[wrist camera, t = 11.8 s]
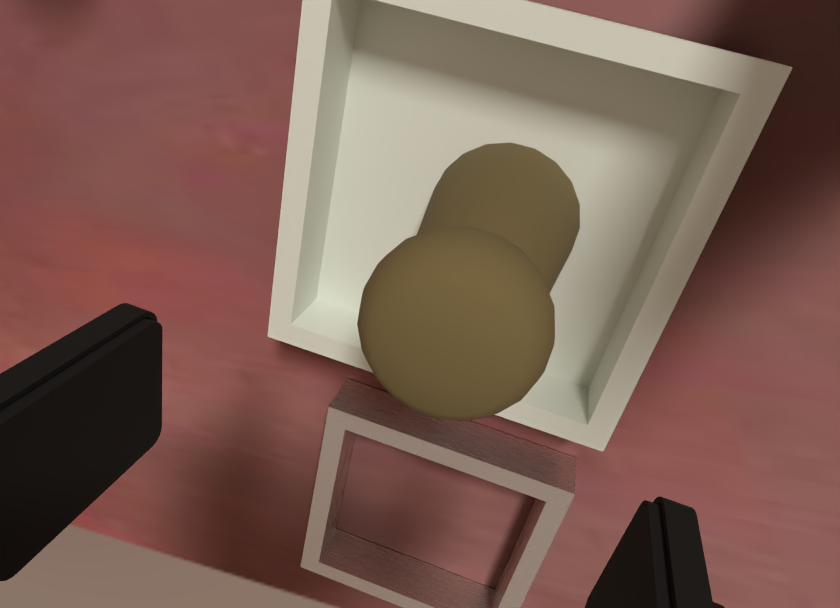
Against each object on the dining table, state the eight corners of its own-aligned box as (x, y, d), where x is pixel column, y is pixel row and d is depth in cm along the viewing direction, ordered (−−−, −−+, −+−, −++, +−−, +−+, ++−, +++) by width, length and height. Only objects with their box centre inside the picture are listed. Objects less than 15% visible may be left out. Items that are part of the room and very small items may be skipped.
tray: (762, 58, 20) (792, 67, 17) (602, 402, 27) (603, 451, 24) (348, -44, 22) (308, -54, 19) (301, 302, 29) (267, 336, 26)
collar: (576, 458, 29) (575, 494, 27) (507, 606, 35) (501, 646, 32) (347, 378, 30) (328, 406, 28) (318, 533, 36) (300, 567, 34)
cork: (449, 296, 26) (364, 463, 16) (412, 161, 24) (289, 262, 14) (591, 276, 24) (589, 452, 14) (565, 125, 22) (543, 215, 12)
